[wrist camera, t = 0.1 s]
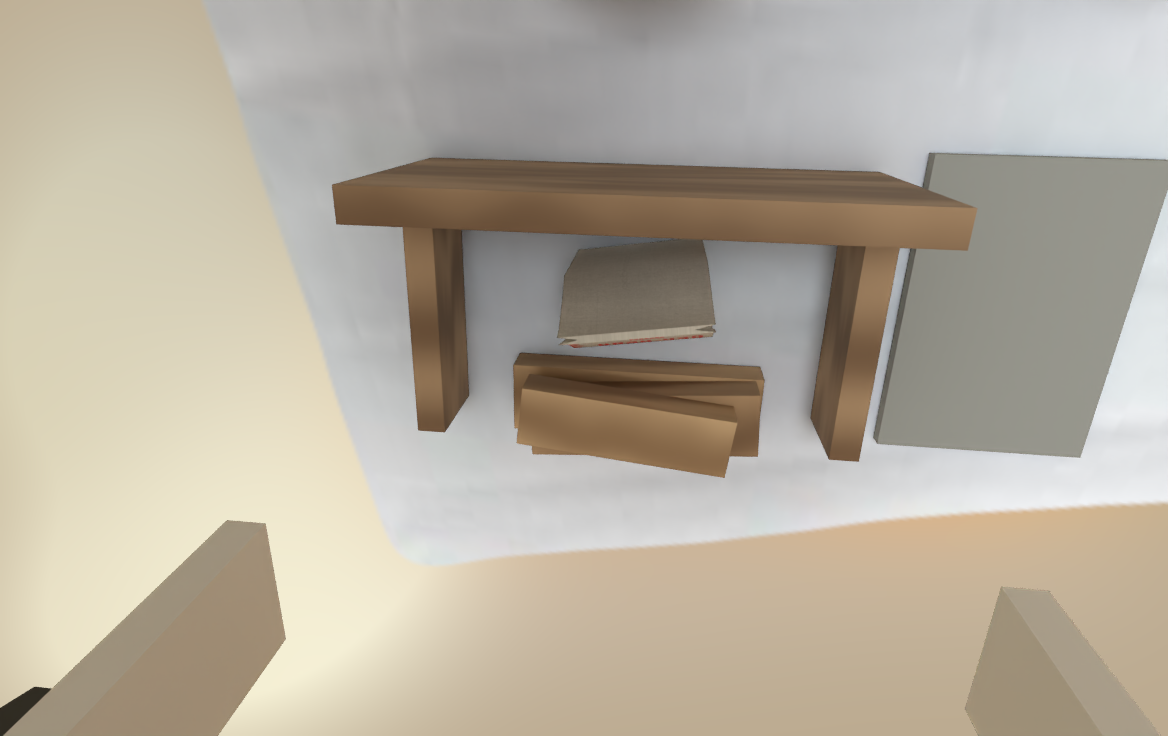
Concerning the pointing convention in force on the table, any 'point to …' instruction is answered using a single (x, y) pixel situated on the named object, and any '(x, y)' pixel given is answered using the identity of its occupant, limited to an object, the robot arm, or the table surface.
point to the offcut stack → (638, 410)
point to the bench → (658, 210)
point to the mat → (1019, 303)
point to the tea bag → (637, 294)
